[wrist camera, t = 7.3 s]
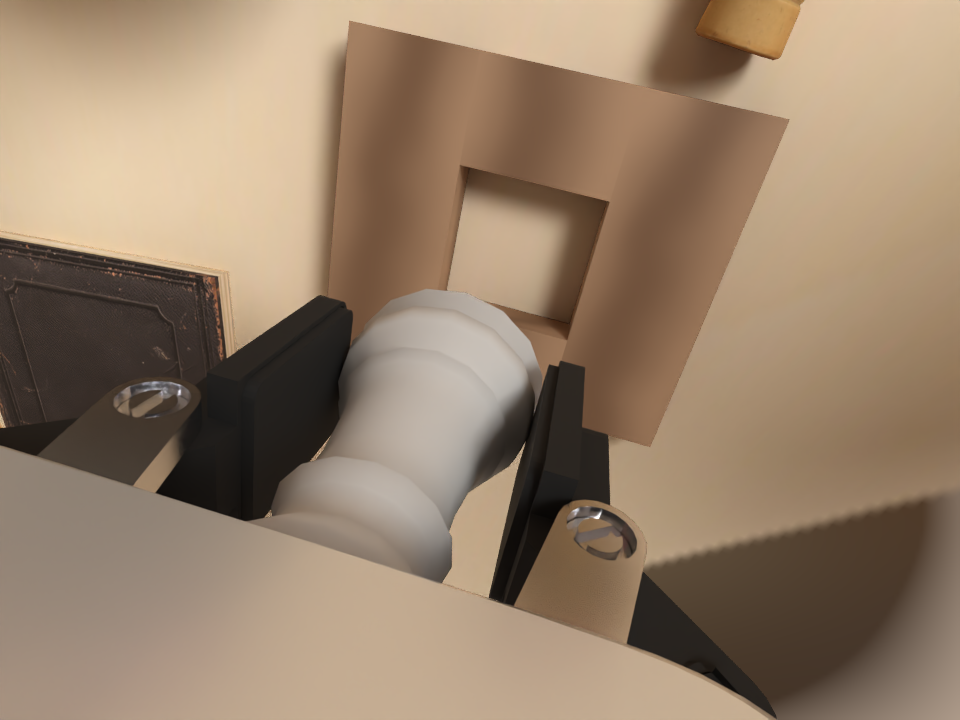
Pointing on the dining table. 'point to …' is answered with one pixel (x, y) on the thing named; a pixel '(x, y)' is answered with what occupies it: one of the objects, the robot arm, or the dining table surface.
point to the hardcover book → (101, 325)
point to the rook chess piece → (414, 431)
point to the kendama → (750, 24)
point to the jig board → (558, 164)
